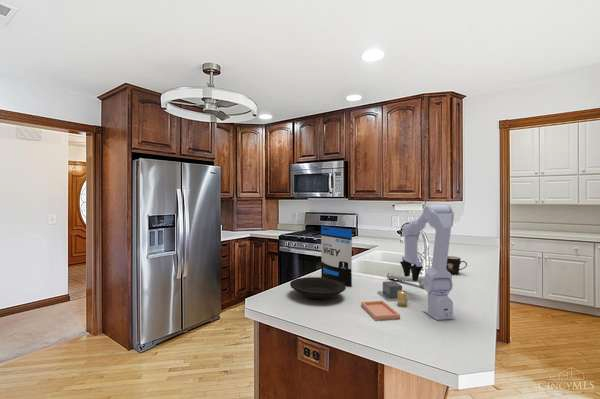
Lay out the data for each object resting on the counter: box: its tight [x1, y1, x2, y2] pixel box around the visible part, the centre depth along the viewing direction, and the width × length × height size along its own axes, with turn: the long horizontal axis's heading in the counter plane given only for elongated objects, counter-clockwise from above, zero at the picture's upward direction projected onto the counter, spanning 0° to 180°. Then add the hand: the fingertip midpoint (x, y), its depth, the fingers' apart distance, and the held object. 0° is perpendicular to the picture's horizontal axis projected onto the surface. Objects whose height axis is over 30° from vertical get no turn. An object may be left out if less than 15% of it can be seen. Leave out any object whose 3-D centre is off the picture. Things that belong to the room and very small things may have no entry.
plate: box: [289, 276, 347, 301], centre depth 148 cm, size 28×24×6 cm
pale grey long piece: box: [386, 272, 425, 290], centre depth 168 cm, size 5×7×25 cm
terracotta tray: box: [360, 300, 401, 321], centre depth 128 cm, size 16×10×2 cm, turn 9°
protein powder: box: [320, 225, 353, 288], centre depth 172 cm, size 10×24×30 cm, turn 37°
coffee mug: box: [446, 255, 468, 276], centre depth 187 cm, size 12×9×10 cm
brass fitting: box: [396, 289, 408, 308], centre depth 135 cm, size 4×4×6 cm
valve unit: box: [376, 280, 409, 302], centre depth 148 cm, size 12×10×6 cm
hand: (411, 278), depth 148 cm, fingers open, 7 cm apart
